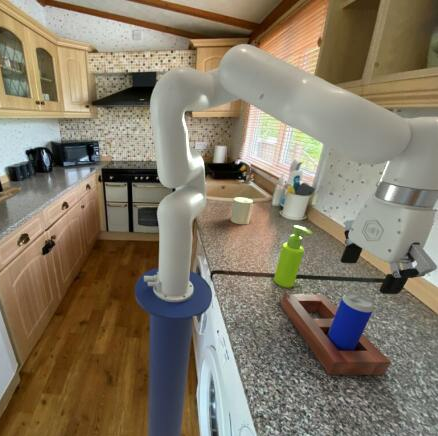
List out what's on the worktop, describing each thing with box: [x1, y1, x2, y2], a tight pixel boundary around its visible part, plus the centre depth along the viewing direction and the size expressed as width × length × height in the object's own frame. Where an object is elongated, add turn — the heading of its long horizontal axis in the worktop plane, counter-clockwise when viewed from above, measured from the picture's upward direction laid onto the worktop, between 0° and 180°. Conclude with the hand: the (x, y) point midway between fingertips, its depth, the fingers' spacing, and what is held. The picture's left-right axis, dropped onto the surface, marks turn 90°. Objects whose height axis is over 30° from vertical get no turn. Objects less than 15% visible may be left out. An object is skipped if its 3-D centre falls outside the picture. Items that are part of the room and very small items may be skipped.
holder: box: [280, 293, 392, 376], centre depth 60 cm, size 12×20×4 cm, turn 0°
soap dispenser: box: [273, 224, 314, 289], centre depth 75 cm, size 6×7×20 cm
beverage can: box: [327, 291, 375, 351], centre depth 53 cm, size 5×5×15 cm
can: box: [230, 196, 254, 225], centre depth 124 cm, size 9×9×12 cm
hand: (366, 276), depth 48 cm, fingers open, 9 cm apart
